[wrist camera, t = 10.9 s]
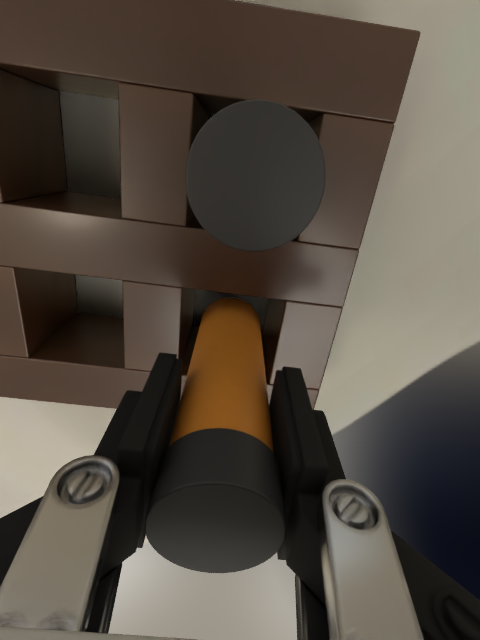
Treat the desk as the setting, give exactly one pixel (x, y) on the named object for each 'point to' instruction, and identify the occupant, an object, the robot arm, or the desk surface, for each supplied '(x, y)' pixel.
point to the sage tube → (255, 175)
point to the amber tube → (220, 454)
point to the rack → (175, 182)
